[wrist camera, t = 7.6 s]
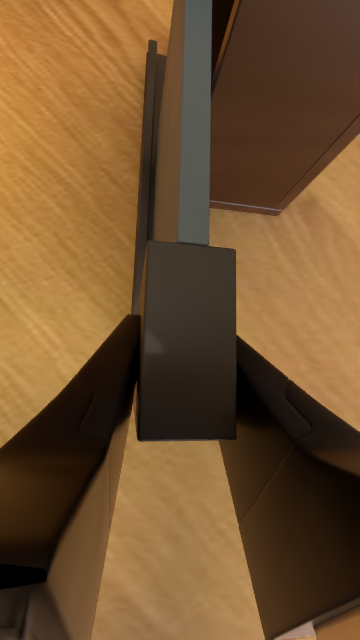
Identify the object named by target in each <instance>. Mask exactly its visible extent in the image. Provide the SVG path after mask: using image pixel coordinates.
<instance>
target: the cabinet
mask: <svg viewBox="0 0 360 640" xmlns="http://www.w3.org/2000/svg"><path fill="white" fill-rule="evenodd" d="M166 60H167V56H164V55H160V54H157V41H154V40H149V46H148V52H147V56H146V73H145V90H144V107H143V124H142V141H141V158H140V175H139V193H138V210H137V227H136V244H135V261H134V278H133V295H132V312H131V314H135V315H137V309H138V302H139V295H140V288H141V281H142V275H143V268H144V261H145V254H146V247H147V242H148V241H149V240H152V229H153V208H154V187H155V166H156V146H157V134H158V126H159V118H160V110H161V102H162V93H163V85H164V77H165V69H166ZM359 133H360V0H212V38H211V117H210V195H209V207H213V208H221V209H229V210H236V211H244V212H252V213H260V214H268V215H275V216H277V215H279V214H280V213H281V212H282V210H284V209H285V208H286V207H287V206H288V205H289V204H290V203H291V202H292V201H293V200H294V199H295V198H296V197H297V196H298V195H299V194H300V193H301V192H302V191H303V190H304V189H305V188H306V187H307V186H308V185H309V184H310V183H311V182H312V181H313V180H314V179H315V178H316V177H317V176H318V175H319V174H320V173H321V172H322V171H323V170H324V169H325V168H326V167H327V166H328V165H329V164H330V163H331V162H332V161H333V160H334V159H335V158H336V157H337V155H338V154H339V153H340V152H341V151H342V150H343V149H344V148H345V147H346V146H347V145H348V144H349V143H350V142H351V141H352V140H353V139H354V138H355V137H356V136H357V135H358V134H359Z"/></svg>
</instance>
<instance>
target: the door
mask: <svg viewBox="0 0 360 640" xmlns="http://www.w3.org/2000/svg"><path fill="white" fill-rule="evenodd" d="M211 38H212V0H174V3H173V11H172V19H171V28H170V36H169V44H168V52H167V60H166V69H165V77H164V85H163V93H162V102H161V110H160V118H159V126H158V134H157V146H156V166H155V187H154V208H153V229H152V240H149V241H148V242H147V247H146V254H145V261H144V268H143V275H142V281H141V288H140V295H139V302H138V309H137V315H140V345H139V357H138V369H137V381H136V388H135V394H134V399H133V405H134V414H135V423H136V433H137V439H138V441H140V442H144V441H210V440H235V439H236V438H237V404H236V250H235V249H229V248H220V247H210V246H208V245H209V195H210V117H211Z"/></svg>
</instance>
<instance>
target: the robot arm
mask: <svg viewBox="0 0 360 640" xmlns="http://www.w3.org/2000/svg"><path fill="white" fill-rule="evenodd" d="M139 345H140V315H135V314H128V315H127V316H126V317H125V318H124V319H123V320H122V321H121V323H120V324H119V325H118V326H117V327H116V329H115V330H114V331H113V332H112V333H111V334H110V336H109V337H108V338H107V339H106V340H105V341H104V343H103V344H102V345H101V346H100V347H99V348H98V350H97V351H96V352H95V353H94V354H93V355H92V357H91V358H90V359H89V360H88V361H87V362H86V364H85V365H84V366H83V367H82V368H81V369H80V371H79V372H78V373H77V374H76V375H75V376H74V377H73V379H72V380H71V381H70V382H69V383H68V384H67V386H66V387H65V388H64V389H63V390H62V391H61V392H60V393H59V394H58V395H57V396H56V397H55V398H54V399H53V400H52V401H51V402H50V403H49V404H48V405H47V406H46V407H45V408H44V409H43V410H42V411H41V412H40V413H39V414H37V415H36V416H35V417H34V418H33V419H32V420H31V421H30V422H29V423H28V424H27V425H25V426H24V427H23V428H22V429H21V430H20V431H19V432H18V433H17V434H16V435H15V436H13V437H12V438H11V439H10V440H9V441H8V442H7V443H6V444H5V445H4V446H2V447H1V448H0V640H91V634H92V629H93V623H94V617H95V612H96V606H97V601H98V595H99V589H100V584H101V578H102V573H103V567H104V561H105V556H106V550H107V545H108V539H109V532H110V528H111V522H112V517H113V511H114V505H115V500H116V494H117V489H118V483H119V477H120V472H121V466H122V461H123V455H124V449H125V444H126V438H127V433H128V427H129V421H130V416H131V410H132V405H133V399H134V394H135V388H136V381H137V369H138V357H139ZM236 404H237V438H236V439H235V440H219V444H220V448H221V452H222V456H223V461H224V465H225V469H226V474H227V478H228V482H229V486H230V491H231V495H232V499H233V504H234V508H235V512H236V516H237V521H238V524H239V530H240V534H241V538H242V543H243V547H244V551H245V556H246V560H247V564H248V568H249V573H250V577H251V581H252V586H253V590H254V594H255V599H256V603H257V607H258V611H259V616H260V620H261V624H262V628H263V632H264V636H265V640H289V639H296V638H303V637H310V636H316V638H317V640H360V432H359V431H357V430H356V429H355V428H353V427H352V426H350V425H349V424H348V423H346V422H345V421H343V420H342V419H341V418H339V417H338V416H337V415H335V414H334V413H332V412H331V411H330V410H328V409H327V408H326V407H324V406H323V405H322V404H320V403H319V402H317V401H316V400H315V399H313V398H312V397H311V396H310V395H308V394H307V393H306V392H305V391H304V390H302V389H301V388H300V387H299V386H297V385H296V384H295V383H294V382H293V381H291V380H288V377H287V376H285V375H284V374H283V373H282V372H281V371H279V370H278V369H277V368H276V367H275V366H273V365H272V364H271V363H270V362H269V361H267V360H266V359H265V358H264V357H263V356H261V355H260V354H259V353H258V352H257V351H255V350H254V349H253V348H252V347H251V346H249V345H248V344H247V343H246V342H245V341H244V340H242V339H241V338H240V337H239V336H238V335H236Z"/></svg>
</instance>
